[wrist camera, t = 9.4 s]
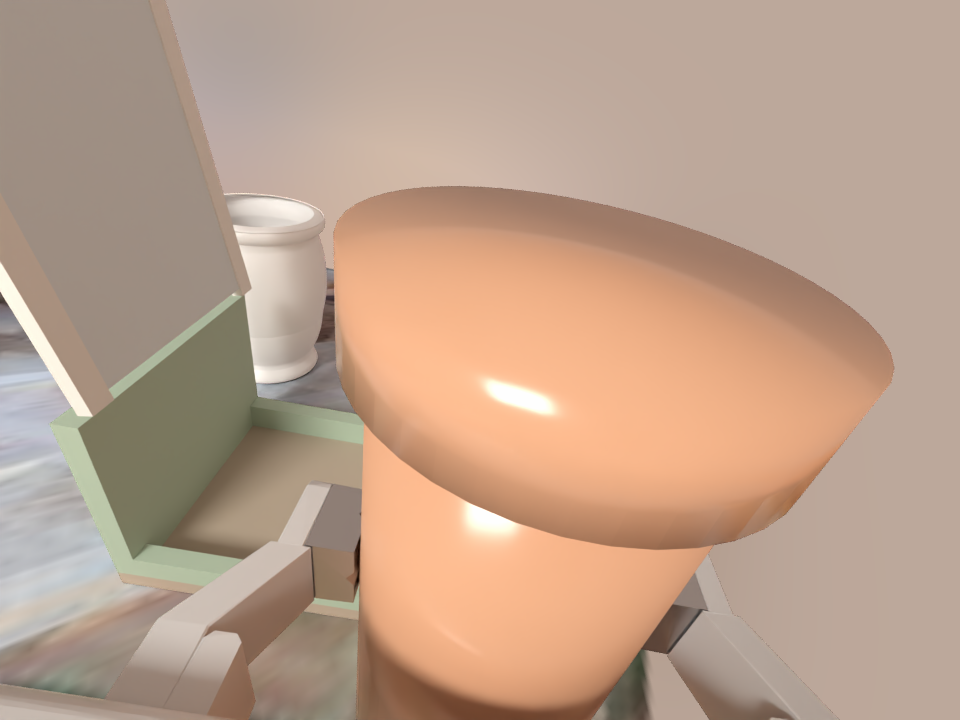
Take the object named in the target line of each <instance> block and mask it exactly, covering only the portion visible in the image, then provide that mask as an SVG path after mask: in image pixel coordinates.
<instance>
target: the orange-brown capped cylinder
mask: <svg viewBox="0 0 960 720" xmlns="http://www.w3.org/2000/svg"><path fill="white" fill-rule="evenodd" d="M334 296H335V353H336V368H337V372H338V375H339V379H340V382H341V385H342V388H343V390H344V392H345V394H346V396H347V398H348V400H349V401H350V403H351V405H352V407H353V409H354V411H355V412H356V413H357V415H358V416H359V417H360V418H361V420H362V421H363V422H364V436H363V472H362V509H361V545H360V581H359V618H358V654H357V690H356V720H591V719H592V718H593V716H594V715H595V713H596V712H597V711H598V709H599V708H600V706H601V705H602V703H603V702H604V701H605V699H606V698H607V696H608V695H609V693H610V692H611V691H612V689H613V688H614V686H615V685H616V684H617V682H618V681H619V679H620V678H621V676H622V675H623V674H624V672H625V671H626V669H627V668H628V667H629V665H630V664H631V662H632V661H633V659H634V658H635V657H636V655H637V654H638V652H639V651H640V649H641V648H642V647H643V645H644V644H645V642H646V641H647V640H648V638H649V637H650V635H651V634H652V632H653V631H654V630H655V628H656V627H657V625H658V624H659V623H660V621H661V620H662V618H663V617H664V615H665V614H666V613H667V611H668V610H669V608H670V607H671V606H672V604H673V603H674V601H675V600H676V598H677V597H678V596H679V594H680V593H681V591H682V590H683V588H684V587H685V586H686V584H687V583H688V581H689V580H690V579H691V577H692V576H693V574H694V573H695V571H696V570H697V569H698V567H699V566H700V564H701V563H702V562H703V560H704V559H705V557H706V556H707V554H708V553H709V552H710V550H711V549H712V547H713V546H714V545H717V544H721V543H727V542H732V541H736V540H738V539H741V538H743V537H745V536H748V535H751V534H753V533H755V532H758V531H761V530H763V529H765V528H766V527H768V526H769V525H771V524H772V523H774V522H775V521H777V520H778V519H780V518H781V517H782V516H784V515H785V514H786V513H787V512H788V511H789V509H790V508H791V507H792V506H793V505H794V504H795V502H796V501H797V500H798V499H799V498H800V496H801V495H802V494H803V493H804V491H805V490H806V489H807V488H808V486H809V485H810V484H811V483H812V481H813V480H814V479H815V477H816V476H817V475H818V474H819V473H820V471H821V470H822V469H823V467H824V466H825V465H826V464H827V463H828V461H829V460H830V458H832V456H833V455H834V454H835V452H836V451H837V450H838V449H839V447H840V446H841V445H842V444H843V442H844V441H845V440H846V439H847V437H848V436H849V435H850V434H851V432H852V431H853V430H854V429H855V427H856V426H857V425H858V424H859V422H860V421H861V420H862V419H863V417H864V416H865V415H866V413H867V412H868V411H869V410H870V408H871V407H872V406H873V405H874V403H875V402H876V401H877V400H878V398H879V397H880V396H881V395H882V393H883V392H884V391H885V390H886V388H887V387H888V386H889V384H890V383H891V381H892V376H893V371H894V364H893V360H892V356H891V352H890V350H889V349H888V347H887V345H886V344H885V342H884V340H883V339H882V337H881V336H880V335H879V334H878V333H877V331H876V330H875V329H874V328H873V327H872V326H871V325H870V324H869V323H868V322H867V321H866V320H865V319H864V318H863V317H862V316H860V315H859V314H858V313H857V312H856V311H855V310H853V309H852V308H851V307H850V306H848V305H847V304H845V303H844V302H842V301H841V300H840V299H839V298H837V297H836V296H834V295H833V294H831V293H830V292H828V291H826V290H825V289H823V288H822V287H820V286H818V285H817V284H815V283H814V282H812V281H810V280H808V279H806V278H804V277H803V276H801V275H798V274H797V273H795V272H793V271H792V270H790V269H788V268H786V267H783V266H781V265H779V264H777V263H775V262H773V261H771V260H769V259H766V258H764V257H762V256H759V255H758V254H755V253H753V252H751V251H748V250H746V249H743V248H741V247H739V246H736V245H734V244H731V243H729V242H726V241H723V240H721V239H718V238H716V237H713V236H710V235H707V234H704V233H702V232H699V231H696V230H693V229H690V228H687V227H684V226H681V225H677V224H674V223H671V222H668V221H664V220H661V219H658V218H655V217H651V216H647V215H643V214H640V213H636V212H633V211H628V210H624V209H620V208H616V207H612V206H608V205H603V204H599V203H594V202H589V201H584V200H579V199H574V198H568V197H562V196H557V195H550V194H544V193H537V192H530V191H522V190H512V189H503V188H489V187H466V186H444V187H443V186H440V187H422V188H413V189H406V190H399V191H394V192H389V193H384V194H381V195H378V196H374V197H371V198H369V199H366V200H364V201H362V202H359V203H357V204H356V205H354V206H353V207H351V208H350V209H348V210H347V211H345V213H344V214H343V215H342V216H341V217H340V218H339V220H338V221H337V224H336V227H335V230H334Z"/></svg>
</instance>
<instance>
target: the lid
mask: <svg viewBox="0 0 960 720" xmlns="http://www.w3.org/2000/svg"><path fill="white" fill-rule="evenodd" d="M251 289H252V287H251V283H250V280H249V277H248V273H247V270H246V267H245V264H244V260H243V257H242V254H241V250H240V247H239V244H238V240H237V237H236V234H235V230H234V227H233V224H232V220H231V217H230V214H229V210H228V207H227V204H226V200H225V197H224V194H223V190H222V187H221V184H220V180H219V177H218V174H217V171H216V167H215V164H214V160H213V157H212V154H211V150H210V147H209V144H208V140H207V137H206V134H205V130H204V127H203V124H202V121H201V117H200V114H199V111H198V108H197V104H196V100H195V97H194V94H193V90H192V87H191V84H190V80H189V77H188V74H187V71H186V67H185V64H184V61H183V57H182V54H181V50H180V47H179V44H178V40H177V37H176V34H175V31H174V28H173V24H172V21H171V17H170V14H169V10H168V7H167V4H166V1H165V0H0V292H1V294H2V295H3V297H4V299H5V300H6V302H7V303H8V305H9V307H10V308H11V310H12V311H13V313H14V315H15V316H16V318H17V319H18V321H19V323H20V324H21V326H22V327H23V329H24V331H25V332H26V334H27V336H28V337H29V339H30V340H31V342H32V344H33V345H34V347H35V348H36V350H37V352H38V353H39V355H40V356H41V358H42V360H43V361H44V363H45V364H46V366H47V368H48V369H49V371H50V372H51V374H52V376H53V377H54V379H55V381H56V382H57V384H58V385H59V387H60V389H61V390H62V392H63V393H64V395H65V397H66V398H67V400H68V401H69V403H70V405H71V406H72V408H73V409H74V411H75V413H76V414H77V416H88V417H93V416H95V415H96V414H97V413H98V412H100V411H101V410H102V409H103V408H105V407H106V406H107V405H108V404H110V403H111V402H112V401H113V400H114V398H113V396H112V394H111V392H110V391H109V389H110V388H111V387H112V386H114V385H115V384H116V383H118V382H119V381H120V380H121V379H123V378H124V377H125V376H127V375H128V374H129V373H131V372H132V371H133V370H134V369H136V368H137V367H138V366H140V365H141V364H142V363H144V362H145V361H146V360H147V359H149V358H150V357H151V356H153V355H154V354H155V353H157V352H158V351H159V350H160V349H162V348H163V347H164V346H166V345H167V344H168V343H170V342H171V341H172V340H173V339H175V338H176V337H177V336H179V335H180V334H181V333H182V332H184V331H185V330H186V329H188V328H189V327H190V326H192V325H193V324H194V323H195V322H197V321H198V320H199V319H201V318H202V317H203V316H205V315H206V314H207V313H208V312H210V311H211V310H212V309H214V308H215V307H216V306H218V305H219V304H220V303H221V302H223V301H224V300H225V299H227V298H228V297H229V296H231V295H233V296H244V295H245V294H246V293H247V292H248V291H250V290H251Z"/></svg>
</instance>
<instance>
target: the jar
mask: <svg viewBox="0 0 960 720" xmlns="http://www.w3.org/2000/svg"><path fill="white" fill-rule="evenodd" d="M224 197H225V200H226V204H227V207H228V210H229V214H230V217H231V220H232V224H233V227H234V230H235V234H236V237H237V240H238V244H239V247H240V250H241V254H242V257H243V260H244V264H245V267H246V270H247V273H248V277H249V280H250V283H251V287H252V289H251V290H250V291H248V292H247V293H246V294H245V302H246V310H247V318H248V326H249V333H250V341H251V349H252V357H253V365H254V372H255V380H256V383H263V384H271V383H280V382H286V381H290V380H293V379H296V378H298V377H301V376H303V375H304V374H306V373H308V372H309V371H310V370H311V369H312V368H313V367H314V366H315V364H316V362H317V358H318V355H317V351H316V349H315V347H314V344H315V342H316V340H317V338H318V335H319V332H320V329H321V324H322V317H323V309H324V305H325V299H326V290H327V272H326V263H325V257H324V251H323V247H322V244H321V240H320V237H319V234H320V233H321V232H322V231H323V229H324V227H325V219H324V214H323V213H322V211H320V210H319V209H318V208H316V207H314V206H312V205H310V204H307V203H305V202H302V201H299V200H295V199H291V198H286V197H280V196H274V195H265V194H251V193H228V194H224Z"/></svg>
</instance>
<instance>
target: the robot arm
mask: <svg viewBox="0 0 960 720" xmlns="http://www.w3.org/2000/svg"><path fill="white" fill-rule="evenodd" d="M361 509H362V489H359V488H353V487H348V486H343V485H338V484H332V483H326V482H321V481H315V480H312V481H311V482H310V483H309V484H308V485H307V486H306V488H305V490H304V492H303V494H302V496H301V498H300V499H299V501H298V503H297V505H296V507H295V509H294V511H293V513H292V515H291V517H290V519H289V521H288V523H287V525H286V526H285V528H284V530H283V532H282V534H281V536H280V538H279V540H278V542H277V541H270V542H268V543H267V544H265V545H264V546H262V547H261V548H260V549H258V550H257V551H255V552H254V553H252V554H251V555H249V556H248V557H247V558H245V559H244V560H242V561H241V562H239V563H238V564H236V565H235V566H233V567H232V568H231V569H229V570H228V571H226V572H225V573H223V574H222V575H220V576H219V577H218V578H216V579H215V580H213V581H212V582H210V583H209V584H207V585H206V586H204V587H203V588H202V589H200V590H199V591H197V592H196V593H194V594H193V595H191V596H190V597H189V598H187V599H186V600H184V601H183V602H181V603H180V604H178V605H177V606H175V607H174V608H173V609H171V610H170V611H168V612H167V613H165V614H164V615H162V616H161V617H160V618H158V619H157V621H156V622H155V624H154V625H153V627H152V628H151V630H150V631H149V633H148V634H147V636H146V637H145V639H144V640H143V642H142V643H141V645H140V646H139V648H138V649H137V651H136V652H135V654H134V655H133V657H132V658H131V659H130V661H129V662H128V664H127V665H126V667H125V668H124V670H123V671H122V673H121V674H120V676H119V677H118V679H117V680H116V682H115V683H114V685H113V686H112V688H111V689H110V691H109V692H108V694H107V695H106V697H105V698H104V699H98V698H91V697H84V696H78V695H71V694H65V693H58V692H51V691H45V690H38V689H32V688H25V687H18V686H12V685H5V684H0V720H248V719H249V716H250V714H251V711H252V709H253V706H254V704H255V701H256V700H255V696H254V692H253V688H252V684H251V679H250V675H249V671H248V667H247V666H248V665H249V664H250V663H251V662H252V661H253V660H254V659H255V658H256V657H257V656H258V655H259V654H260V653H261V652H262V651H263V650H264V649H265V648H266V647H267V646H268V645H269V644H270V643H271V642H272V641H274V640H275V639H276V638H277V637H278V636H279V635H280V634H281V633H282V632H283V631H284V630H285V629H286V628H287V627H288V626H289V625H290V624H291V623H292V622H293V621H294V620H295V619H296V618H297V617H298V616H299V615H300V614H301V613H302V612H303V611H304V610H305V609H306V608H307V607H308V606H309V605H310V604H311V603H312V602H313V601H314V598H318V599H326V600H334V601H342V602H349V603H353V602H354V599H355V596H356V593H357V590H358V586H359V581H360V545H361ZM641 649H643V650H649V651H654V652H659V653H664V654H668V656H667V657H668V658H669V660H670V661H671V663H672V664H673V666H674V667H675V669H676V670H677V672H678V673H679V675H680V676H681V678H682V679H683V681H684V682H685V684H686V685H687V687H688V688H689V690H690V691H691V693H692V694H693V696H694V697H695V699H696V700H697V701H698V703H699V705H700V706H701V708H702V709H703V711H704V712H705V714H706V715H707V717H708V718H709V720H839V718H838V717H837V716H836V715H834V713H833V712H832V711H831V710H830V709H829V708H828V707H827V706H826V705H825V704H824V703H823V702H822V701H821V700H820V699H819V698H818V697H817V696H816V695H815V694H814V693H813V692H812V690H811V689H810V688H809V687H807V685H806V684H805V683H804V682H803V681H802V680H801V679H800V678H799V677H798V676H797V675H796V674H795V673H794V672H793V671H792V670H791V669H790V668H789V667H788V666H787V665H786V664H785V663H784V662H783V660H782V659H781V658H780V657H778V655H777V654H776V653H775V652H774V651H773V650H772V649H771V648H770V647H769V646H768V645H767V644H766V643H765V642H764V641H763V640H762V639H761V638H760V637H759V636H758V635H757V634H756V632H755V631H754V630H753V629H752V628H751V627H750V626H749V625H748V624H747V623H746V622H745V621H744V620H743V619H742V618H741V617H739V616H734V615H733V613H732V610H731V608H730V605H729V603H728V600H727V598H726V595H725V593H724V591H723V588H722V586H721V583H720V581H719V578H718V576H717V573H716V571H715V569H714V566H713V564H712V561H711V559H710V557H709V554H707V556H706V557H705V559H704V560H703V562H702V563H701V564H700V566H699V567H698V569H697V570H696V571H695V573H694V574H693V576H692V577H691V579H690V580H689V581H688V583H687V584H686V586H685V587H684V588H683V590H682V591H681V593H680V594H679V596H678V597H677V598H676V600H675V601H674V603H673V604H672V606H671V607H670V608H669V610H668V611H667V613H666V614H665V615H664V617H663V618H662V620H661V621H660V623H659V624H658V625H657V627H656V628H655V630H654V631H653V632H652V634H651V635H650V637H649V638H648V640H647V641H646V642H645V644H644V645H643V647H642V648H641Z"/></svg>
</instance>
